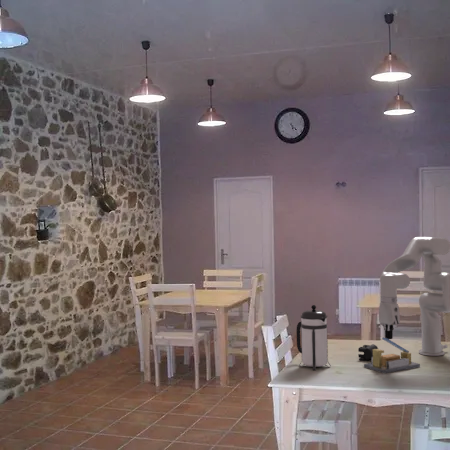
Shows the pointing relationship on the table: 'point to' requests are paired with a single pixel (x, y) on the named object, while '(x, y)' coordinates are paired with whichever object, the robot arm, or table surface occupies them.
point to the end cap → (366, 352)
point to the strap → (395, 345)
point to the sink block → (390, 362)
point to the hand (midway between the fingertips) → (388, 338)
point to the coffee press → (313, 338)
